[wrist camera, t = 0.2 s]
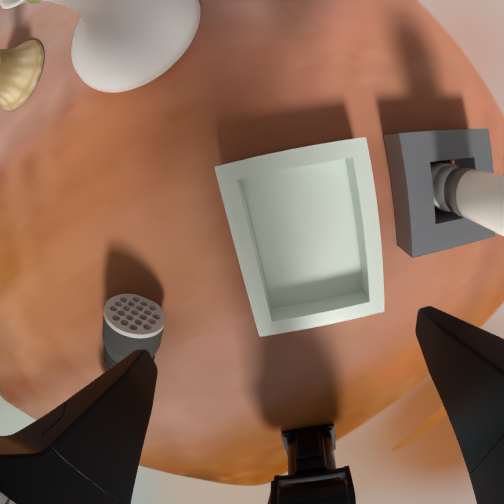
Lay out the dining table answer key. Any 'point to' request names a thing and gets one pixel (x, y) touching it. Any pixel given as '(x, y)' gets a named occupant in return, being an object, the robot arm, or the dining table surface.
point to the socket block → (421, 188)
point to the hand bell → (19, 73)
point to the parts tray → (306, 234)
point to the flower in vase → (127, 39)
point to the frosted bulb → (469, 194)
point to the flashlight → (131, 327)
